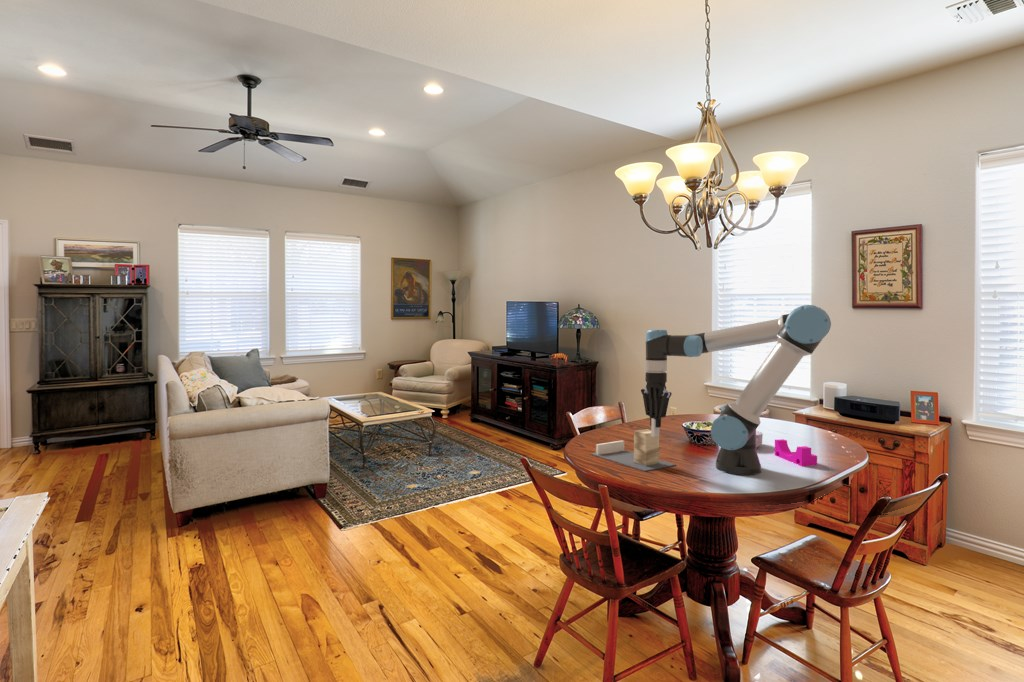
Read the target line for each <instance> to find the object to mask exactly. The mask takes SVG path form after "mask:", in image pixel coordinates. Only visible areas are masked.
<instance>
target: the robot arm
mask: <svg viewBox="0 0 1024 682" xmlns="http://www.w3.org/2000/svg"><path fill="white" fill-rule="evenodd" d="M831 323H832V321H831V318H830V316H829V314H828V313H827V312H826V311H825V310H824V309H823V308H821V307H818V306H816V305H813V304H804V305H800V306H798V307H796V308H794V309H793V310H791V312H790V313H786V314H782V315H780V317H779V318H777V319H775V318H774V319H769V320H764V321H760V322H754V323H748V324H744V325H737V326H733V327H728V328H722V329H716V330H711V331H705V332H701V333H694V334H685V335H683V334H682V335H681V334H680V335H673V334H668V330H667V329H648V330H647V331H646V332H645V333H646V335H645V336H646V337H645V371H646V372H645V382H646V384H645V387H644V388H641V389H640V393H641V394H642V400H643V407H644V411H645V415H646V416H648V417H649V418H650V419H649V420H650V421H649V425H650V428H651V429H650V430H651V436H654V437H655V436H659V437H660V433H661V431H660V428H661V425H662V419H663V418H666V416H667V413H668V406H669V401H670V398H671V397H672V395H673V394H672V392H671V391H668V390H667V386H666V383H667V382H668V381H667V380H668V379H667V378H668V377H667V376H668V373H667V370H668V366H667V365H668V357H687V358H697V357H700V356H701V355H702V354H707V353H713V352H719V351H726V350H732V349H738V348H743V347H750V346H751V347H752V346H756V345H761V344H769V343H773V342H774V343H775V342H777V343H775V345H774V346H773V348H772V350H771V351H770V352H769V353H768V355H767V356H766V358H765V360H764V361H763V362H762V364H761V365H760V366H759V368H758V369H757V370H756V372H755V373H754V375H753V376H752V378H751V379H750V381H749V382H748V383H747V385H746V386H745V388H744V389H743V390H742V392H741V393H740V394H739V396H738V397H737V399H736V400H735V401H730V402H728V403H727V404H726V405H722V406H721V410H720V414H719V416H718V417H717V418H715V419H714V420H713V421H712V423H711V427H710V435H711V438H712V440H713V442H714V444H716V445H717V446H718V447H720V449H719V452H718V453H717V457H716V460H715V469H717V470H719V471H720V472H723V473H724V472H725V473H728V474H732V475H742V476H743V475H745V476H749V475H750V476H751V475H758V474H760V473H761V472H762V464H761V463H760V462H761V461H760V459H759V455H758V452H757V448H756V431H757V428H758V427H760V424H761V419H760V416H761V415H762V414H763V412H764V411H765V409H766V408H767V406H768V405H769V404H770V403H771V401H772V400H773V398H774V397H775V396H776V395H777V393H778V391H780V389H781V387H782V386H783V384H784V383H785V382H786V380H787V379H788V378H789V376H791V374H792V373H793V371H794V370H795V368H796V367H797V366H798V365H799V363H801V360H802V359H803V358H804V357H805V356H810V355H812V354H813V353H814V352H815V350H816V349H817V347H818V346H819V344H821V342H822V341H823V339H825V337H826V336H827V335H828V333H830V330H831V326H832V324H831Z"/></svg>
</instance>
